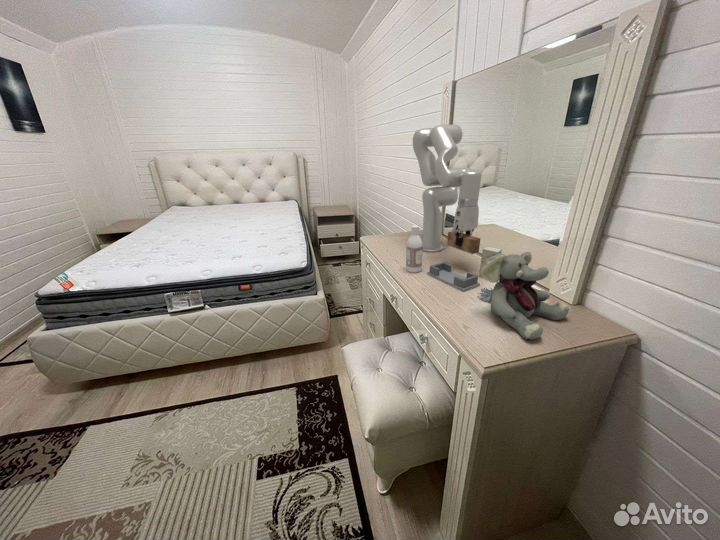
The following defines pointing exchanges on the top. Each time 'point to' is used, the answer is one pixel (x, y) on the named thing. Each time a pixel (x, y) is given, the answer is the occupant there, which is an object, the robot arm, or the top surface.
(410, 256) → the bath foam
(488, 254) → the skincare box
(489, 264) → the plush elephant
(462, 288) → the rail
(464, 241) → the slat
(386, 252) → the top surface
